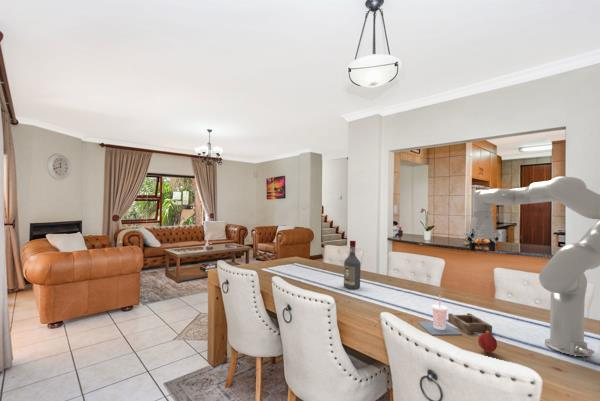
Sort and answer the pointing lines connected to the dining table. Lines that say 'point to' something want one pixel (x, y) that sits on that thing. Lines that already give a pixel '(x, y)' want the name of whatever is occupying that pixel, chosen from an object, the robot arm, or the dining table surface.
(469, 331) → the wooden crate
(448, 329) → the mat
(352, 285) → the liquor
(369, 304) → the dining table surface
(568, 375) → the dining table surface
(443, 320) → the beverage cup
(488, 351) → the onion
